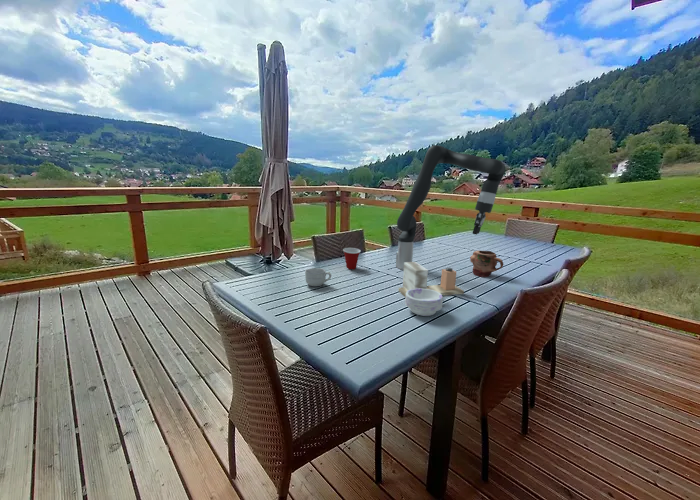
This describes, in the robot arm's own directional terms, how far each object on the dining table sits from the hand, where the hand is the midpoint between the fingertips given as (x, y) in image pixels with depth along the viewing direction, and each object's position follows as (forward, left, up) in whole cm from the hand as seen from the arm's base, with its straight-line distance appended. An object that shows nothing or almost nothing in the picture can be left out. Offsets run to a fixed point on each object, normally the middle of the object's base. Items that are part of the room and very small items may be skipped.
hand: (475, 233), depth 150 cm
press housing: (-10, -23, -28) cm, 38 cm away
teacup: (-56, -57, -28) cm, 85 cm away
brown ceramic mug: (-2, +24, -28) cm, 37 cm away
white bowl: (-1, -45, -28) cm, 53 cm away
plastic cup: (-65, -23, -28) cm, 74 cm away
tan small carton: (-5, -16, -26) cm, 31 cm away
